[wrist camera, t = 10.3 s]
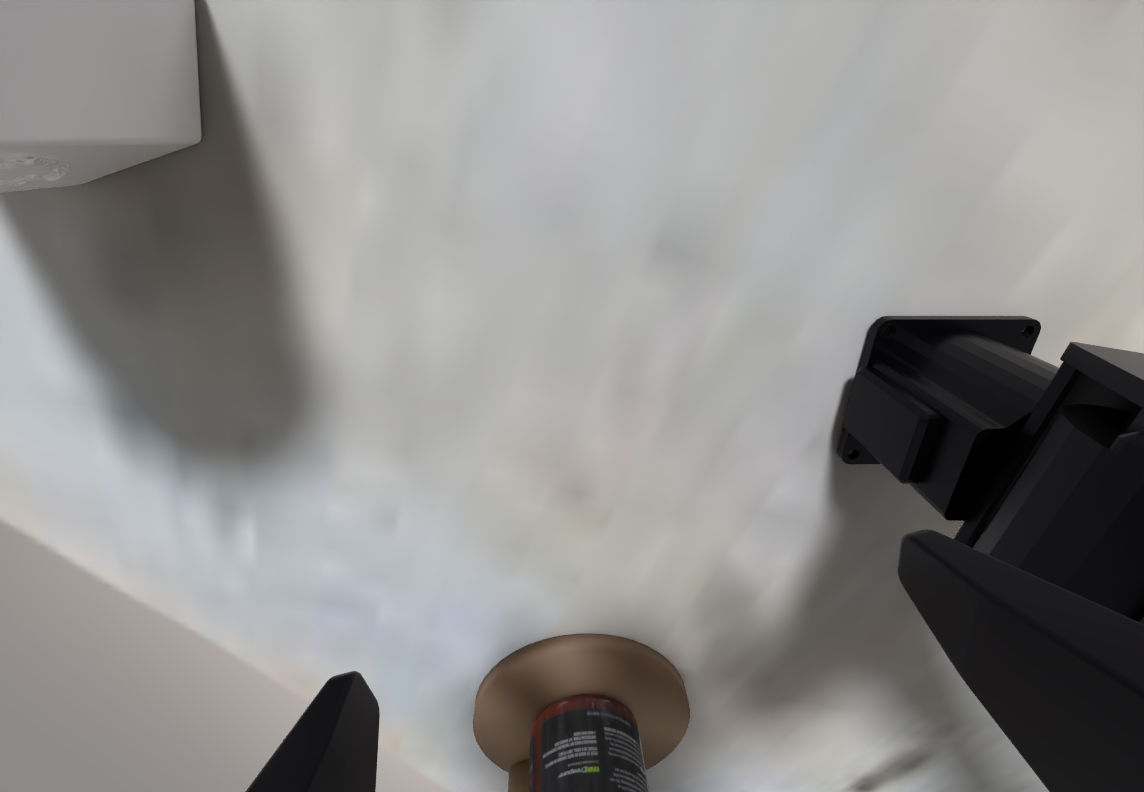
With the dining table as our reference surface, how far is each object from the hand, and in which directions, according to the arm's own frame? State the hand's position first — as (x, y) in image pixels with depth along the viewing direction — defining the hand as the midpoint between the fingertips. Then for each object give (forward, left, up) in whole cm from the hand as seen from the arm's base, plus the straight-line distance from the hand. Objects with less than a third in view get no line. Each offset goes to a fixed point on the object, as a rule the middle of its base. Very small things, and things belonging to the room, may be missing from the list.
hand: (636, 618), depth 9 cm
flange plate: (0, +22, -13) cm, 26 cm away
